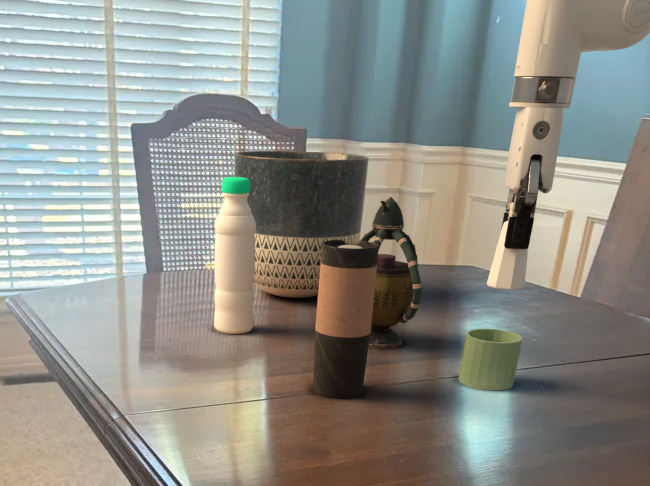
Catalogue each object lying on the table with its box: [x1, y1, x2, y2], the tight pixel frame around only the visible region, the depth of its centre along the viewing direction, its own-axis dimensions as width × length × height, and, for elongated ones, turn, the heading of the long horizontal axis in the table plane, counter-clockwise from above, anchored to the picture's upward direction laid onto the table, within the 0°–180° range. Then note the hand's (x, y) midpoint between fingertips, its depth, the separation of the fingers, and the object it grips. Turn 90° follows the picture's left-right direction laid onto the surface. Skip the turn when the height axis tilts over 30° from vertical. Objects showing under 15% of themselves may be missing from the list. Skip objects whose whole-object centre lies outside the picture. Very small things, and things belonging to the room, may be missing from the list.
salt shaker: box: [486, 202, 529, 291], centre depth 108 cm, size 5×5×11 cm
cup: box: [458, 328, 524, 391], centre depth 115 cm, size 8×8×7 cm
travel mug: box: [312, 240, 380, 399], centre depth 106 cm, size 8×8×20 cm
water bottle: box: [213, 176, 256, 335], centre depth 133 cm, size 7×7×25 cm
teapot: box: [357, 196, 422, 349], centre depth 132 cm, size 12×25×23 cm, turn 179°
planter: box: [233, 150, 369, 299], centre depth 159 cm, size 27×27×27 cm
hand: (513, 244), depth 108 cm, fingers closed on salt shaker, 4 cm apart
